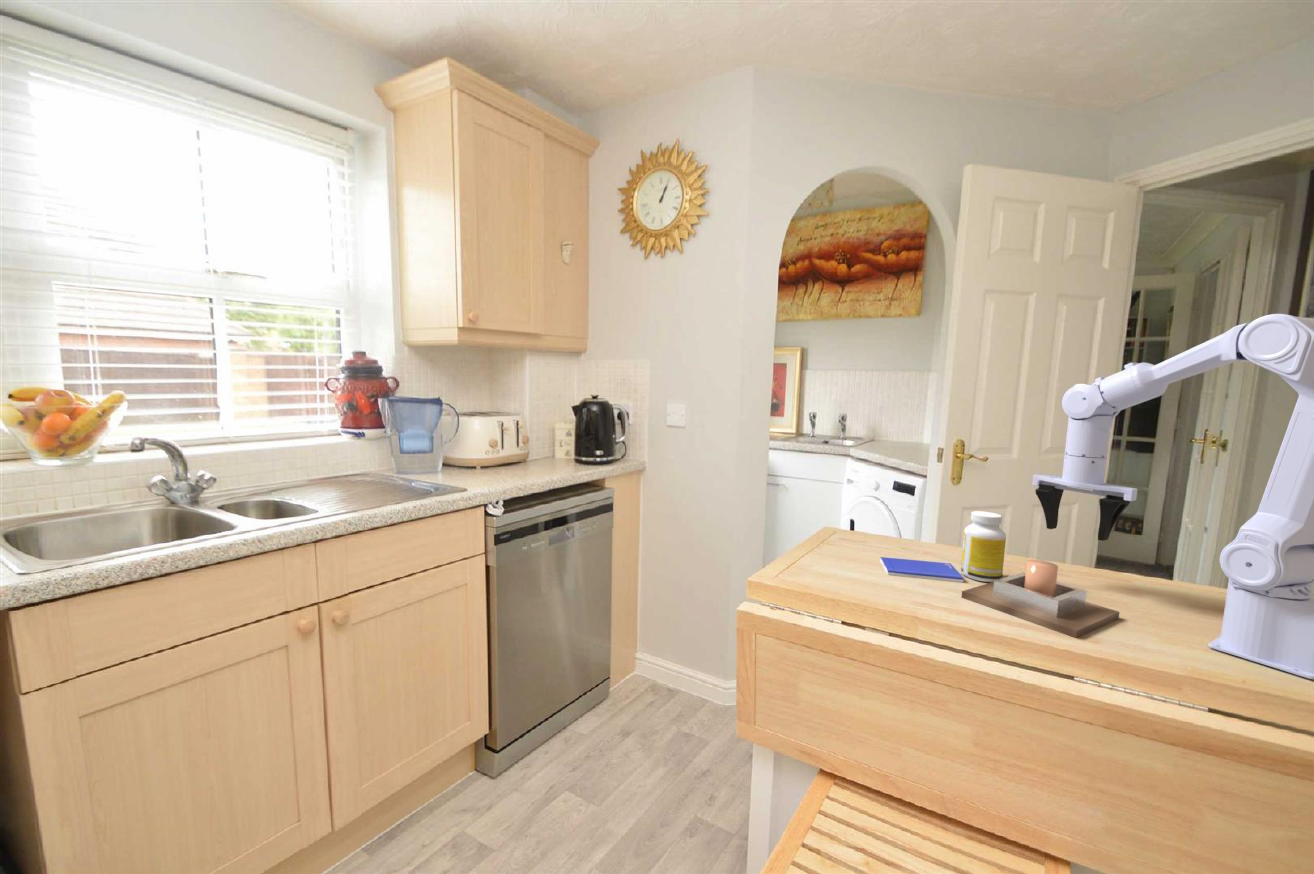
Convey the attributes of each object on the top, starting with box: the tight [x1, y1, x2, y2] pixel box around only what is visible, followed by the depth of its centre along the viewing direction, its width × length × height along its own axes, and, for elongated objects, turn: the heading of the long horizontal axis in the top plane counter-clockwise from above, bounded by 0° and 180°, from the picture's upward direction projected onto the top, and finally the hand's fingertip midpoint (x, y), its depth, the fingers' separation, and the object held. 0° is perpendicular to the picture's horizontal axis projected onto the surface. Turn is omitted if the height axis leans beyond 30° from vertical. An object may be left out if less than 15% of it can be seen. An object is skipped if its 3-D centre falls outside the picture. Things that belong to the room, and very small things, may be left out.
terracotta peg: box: [1024, 559, 1059, 597], centre depth 86 cm, size 4×4×6 cm
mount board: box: [961, 582, 1120, 639], centre depth 87 cm, size 16×14×1 cm
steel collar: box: [993, 572, 1087, 618], centre depth 87 cm, size 9×9×2 cm
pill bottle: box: [960, 510, 1007, 583], centre depth 99 cm, size 6×6×12 cm
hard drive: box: [879, 556, 964, 584], centre depth 102 cm, size 2×8×12 cm
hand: (1076, 533), depth 96 cm, fingers open, 7 cm apart
